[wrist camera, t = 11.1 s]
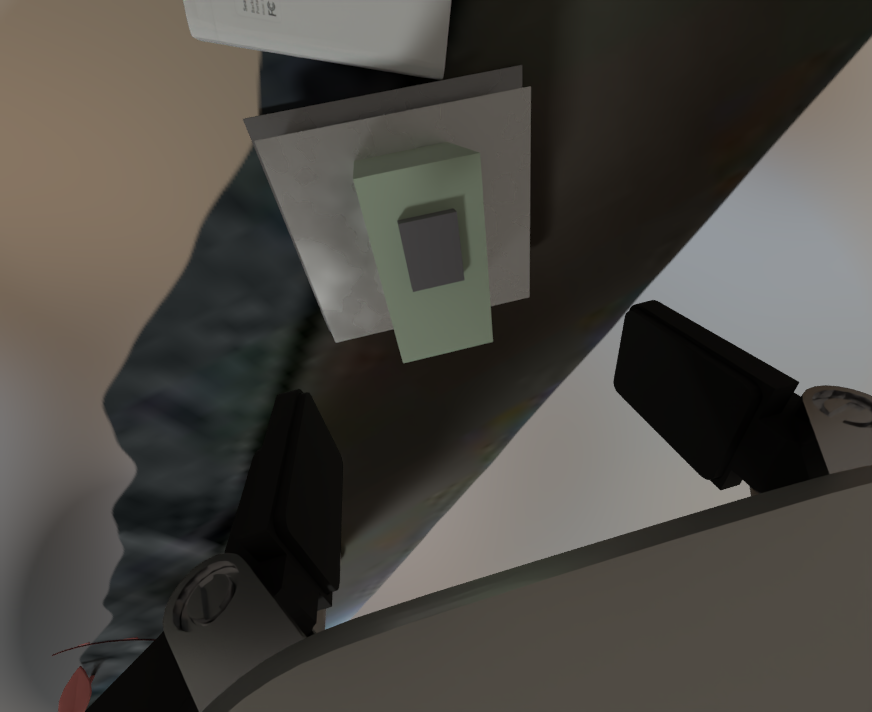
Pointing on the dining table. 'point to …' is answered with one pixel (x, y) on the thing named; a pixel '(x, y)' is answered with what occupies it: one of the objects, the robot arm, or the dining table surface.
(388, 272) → the pale green block
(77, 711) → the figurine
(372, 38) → the external hard drive
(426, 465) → the dining table surface
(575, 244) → the dining table surface
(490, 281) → the chassis
